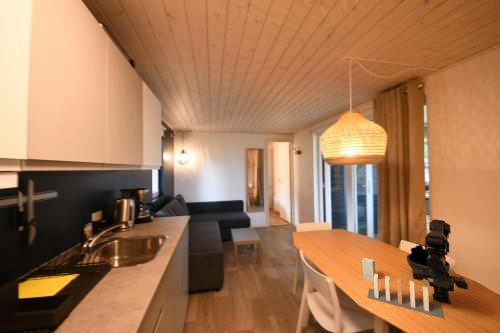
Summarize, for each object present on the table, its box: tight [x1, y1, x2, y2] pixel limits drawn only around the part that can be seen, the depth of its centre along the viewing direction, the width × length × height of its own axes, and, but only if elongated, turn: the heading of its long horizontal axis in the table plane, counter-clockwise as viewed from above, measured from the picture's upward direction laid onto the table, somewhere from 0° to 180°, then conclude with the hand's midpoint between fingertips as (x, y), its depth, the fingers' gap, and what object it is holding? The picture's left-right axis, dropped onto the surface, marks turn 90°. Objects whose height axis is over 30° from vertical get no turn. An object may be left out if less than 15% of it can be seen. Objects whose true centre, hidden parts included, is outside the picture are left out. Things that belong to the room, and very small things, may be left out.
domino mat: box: [366, 288, 446, 320], centre depth 106 cm, size 10×30×1 cm, turn 56°
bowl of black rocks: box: [406, 244, 451, 274], centre depth 129 cm, size 20×20×19 cm
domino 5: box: [422, 283, 430, 311], centre depth 101 cm, size 5×2×10 cm, turn 146°
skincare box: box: [361, 257, 376, 283], centre depth 128 cm, size 6×4×12 cm
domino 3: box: [396, 277, 403, 304], centre depth 107 cm, size 5×2×10 cm, turn 145°
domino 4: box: [409, 280, 416, 308], centre depth 104 cm, size 5×2×10 cm, turn 146°
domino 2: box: [384, 275, 391, 301], centre depth 110 cm, size 5×2×10 cm, turn 146°
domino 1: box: [373, 273, 380, 298], centre depth 112 cm, size 5×2×10 cm, turn 146°
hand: (439, 297), depth 98 cm, fingers closed
